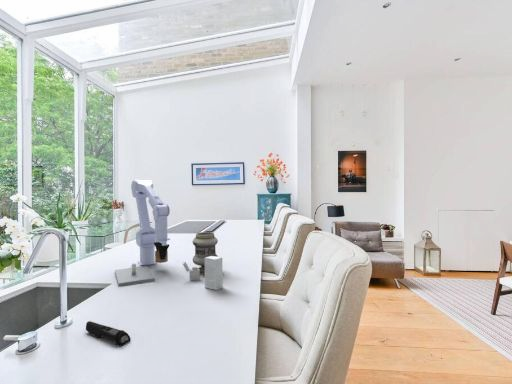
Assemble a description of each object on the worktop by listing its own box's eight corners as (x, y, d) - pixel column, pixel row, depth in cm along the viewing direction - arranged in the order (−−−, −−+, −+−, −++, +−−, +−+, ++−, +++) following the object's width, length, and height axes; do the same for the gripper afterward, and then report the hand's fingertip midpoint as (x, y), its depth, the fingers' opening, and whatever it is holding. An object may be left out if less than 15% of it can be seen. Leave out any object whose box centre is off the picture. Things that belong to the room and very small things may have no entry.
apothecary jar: (187, 272, 139) (187, 233, 139) (203, 266, 150) (203, 230, 149) (208, 275, 133) (208, 235, 133) (223, 269, 144) (223, 232, 144)
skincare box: (223, 287, 118) (222, 257, 118) (216, 290, 115) (216, 259, 114) (211, 284, 122) (210, 255, 121) (204, 287, 118) (204, 257, 118)
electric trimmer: (95, 328, 85) (94, 317, 85) (132, 341, 78) (131, 329, 78) (82, 334, 82) (81, 323, 82) (119, 348, 74) (118, 335, 74)
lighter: (199, 278, 130) (199, 260, 130) (199, 279, 128) (199, 261, 128) (182, 280, 128) (182, 261, 128) (182, 281, 126) (182, 262, 126)
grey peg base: (114, 272, 139) (114, 259, 139) (146, 268, 146) (146, 256, 146) (118, 286, 120) (118, 271, 120) (154, 280, 127) (154, 267, 126)
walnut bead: (154, 260, 144) (154, 250, 144) (165, 259, 147) (165, 249, 147) (156, 263, 140) (156, 252, 140) (168, 261, 142) (168, 251, 142)
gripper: (173, 231, 139) (173, 260, 139) (166, 227, 151) (166, 253, 152) (157, 232, 135) (157, 262, 136) (151, 228, 148) (152, 255, 148)
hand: (161, 257), depth 143 cm, fingers closed on walnut bead, 5 cm apart
